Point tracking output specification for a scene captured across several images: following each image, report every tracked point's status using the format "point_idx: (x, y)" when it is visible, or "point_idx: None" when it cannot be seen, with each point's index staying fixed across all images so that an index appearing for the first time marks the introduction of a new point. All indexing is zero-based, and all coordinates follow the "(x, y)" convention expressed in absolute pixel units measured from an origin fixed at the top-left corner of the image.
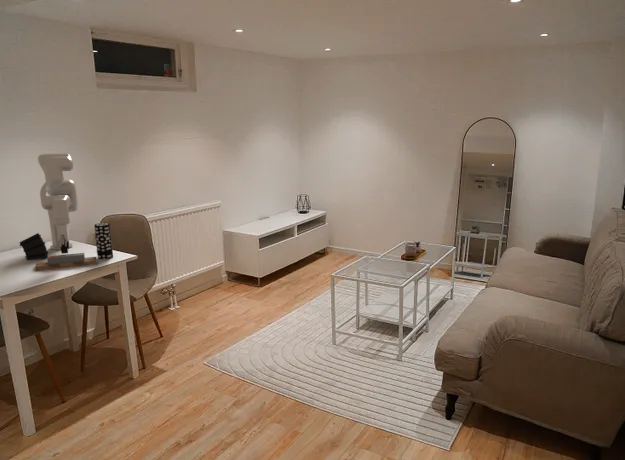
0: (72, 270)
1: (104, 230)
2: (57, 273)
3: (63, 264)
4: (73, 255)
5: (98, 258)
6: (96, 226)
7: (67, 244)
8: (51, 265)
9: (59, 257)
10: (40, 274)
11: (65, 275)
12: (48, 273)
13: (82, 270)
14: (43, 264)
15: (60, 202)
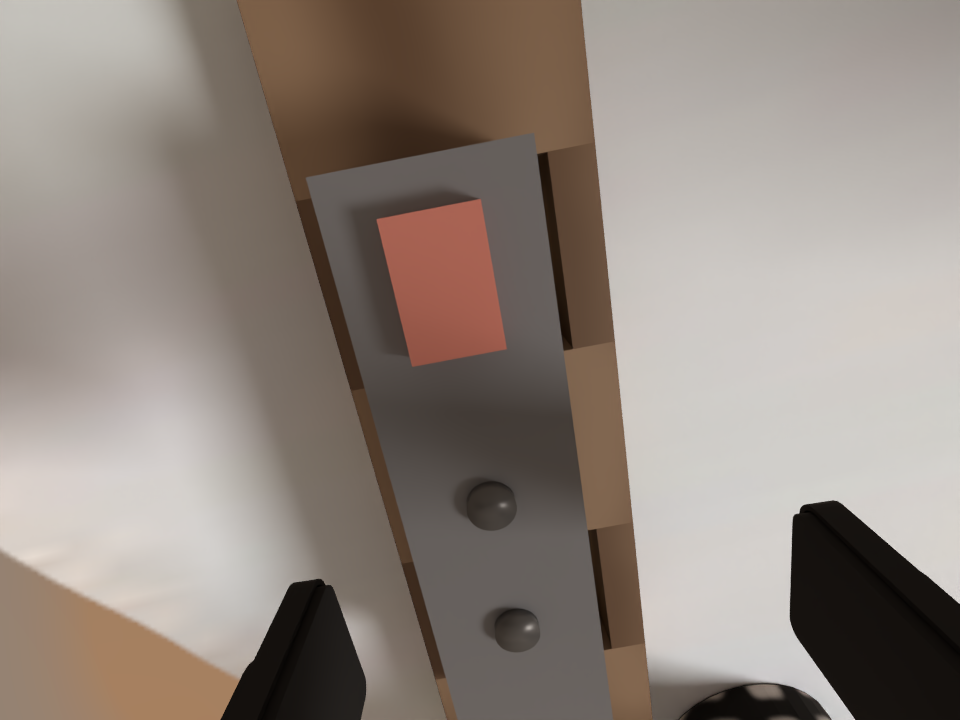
0: (250, 544)
1: None
2: (111, 396)
3: (369, 438)
4: (461, 658)
5: (709, 705)
6: None
7: (867, 710)
8: (317, 258)
9: (383, 439)
10: (44, 140)
11: (25, 520)
12: (106, 262)
13: (244, 647)
14: (354, 81)
15: None
